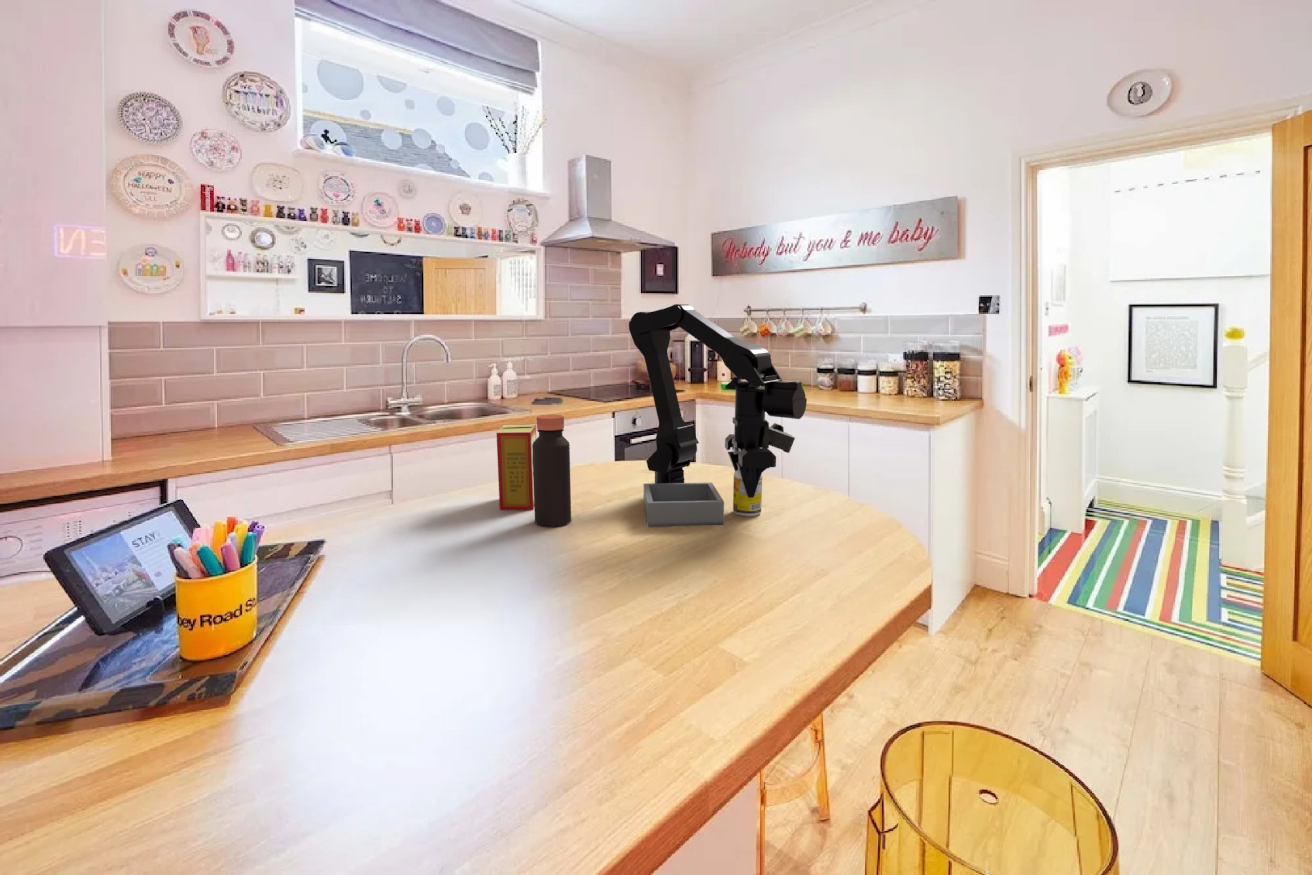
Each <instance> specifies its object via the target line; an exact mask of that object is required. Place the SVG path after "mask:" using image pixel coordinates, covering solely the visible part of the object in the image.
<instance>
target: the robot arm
mask: <svg viewBox="0 0 1312 875" xmlns="http://www.w3.org/2000/svg"><path fill="white" fill-rule="evenodd" d="M679 328H680V329H682V331H684V332H686V333H687V334H689V335H690V336H692V337H693V338H694V339H696V340H697V341H699V342H700V343H702V344H703V345H704V346H706V347H707V348H708V349H710V350H711V351H712V352H714V353H715V354H716V355H718V357H720V358H721V360H722V362H723V364H724V366H725V367H726V368H727V369H728V370H729V371H730V372H731V373H732V374H733V375H734V376H733V377H732V379H731V380H730V381H729V382H728V383H727V384H726V385H724V388H725V389H726V390H731V391H732V390H734V392H735V395H734V399H735V400H734V417H733V416H732V423H733V425H734V428H733V429H734V431H733V434H730V433H729V434H728V435H726V437H725V438H724V448H725V449H726V450H727V455H728V457H729V459H730V462H731V464H732V467H733V470H734V473H735V472H736V471H737V470H738V469H739V472H740V475H741V478H742V481H743V484H744V487H745V490H746V493H747V496H748V497H749V498H753V497H754V495H755V492H756V489H757V485H758V482H759V479H760V476H761V474H762V475H763V472H764V471H766V470H767V469H770V468H776V467H777V456H776V455H775V454H774V453H773V451H771V450H770V446H771V447H774V448H775V449H779V450H782V451H783V452H784V453H787V454H789V453H790V452H791V450H792V446H793V444H794V442H795V439H796V437H795V436H793V435H792V434H789V433H788V432H785V430H784V429H785V428H784V426H783V425H781V424H779V423H773V424H772V425H771V426H770V422H769V421H768V420H767V419H766V413H767V415H768V416H769V417H775V418H784V419H785V418H786V419H793V420H794V419H795V420H801V419H802V418H803V416H804V415H805V412H806V409H807V408H806V407H807V400H808V399H807V398H806V394H805V393H806V392H805V390H804V389H803V388H802V387H803V382H802V381H801V380H792V381H785V380H783V379H782V377H781V376H780V374H779V372H778V370H777V369H776V367H775V366H774V365H773V363H772V358H771V353H770V352H769V351H768V349H766V348H764V347H762V346H760V345H758V344H754V343H752V342H749V341H746V340H744V339H740V338H737V337H735V336H734V335H732V334H731V333H729V332H727V330H724V329H723V328H722V327H720V326H719V325H718V324H716V323H715V322H713V321H712V320H711V319H708V318H707V317H706V316H704V314H701V313H699V311H697V310H695V308H694V307H693V306H691V305H690V304H683V303H680V304H679V303H678V304H677V303H675V304H672V305H670V306H667V307H665V308H660V309H657V310H654V311H637V312H636V313H634V314H633V315H632V316H631V318H630V321H629V322H628V330H629V333H630V337H631V338H632V342H633V344H634V346H635V347H636V348H637V349H638V351H639V352H640V353H641V354H642V357H643V358H644V363H645V366H646V371H647V374H648V375H647V376H648V379H649V384H650V389H651V395H652V397H653V402H654V406H655V410H656V416H657V419H658V420H657V421H658V427H657V432H656V436H655V444H656V445H655V447H656V449H655V451H654V452H653V453H652V454H651V455H650V456H648V458H647V459H646V462H645V463H646V466H647V468H648V471H650V472H654V483H685V470H684V469H683V468H686V467H690V465H691V461H692V460H693V458H694V457H695V456H696V453H698V452H697V451H698V444H699V443H700V442H699V440H698V438H697V435H696V427H695V425H694V424H690V425H688V424H687V422H685V420H684V419H683V416H682V413H681V408H680V404H679V399H678V395H677V390H676V386H675V382H674V381H675V380H674V377H673V372H672V368H671V364H670V363H671V362H670V359H669V355H668V353H669V352H668V349H669V345H670V341H671V331H675V330H677V329H679ZM738 462H739V463H738Z"/></svg>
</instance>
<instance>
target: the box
mask: <svg viewBox="0 0 1312 875" xmlns="http://www.w3.org/2000/svg"><path fill="white" fill-rule="evenodd" d="M713 483H714V482H684V483H655V482H654V483H643V508H644V514H645V519H646V526H647V527H648V528H659V527H660V528H661V527H664V528H665V527H666V528H667V527H668V528H669V527H701V526H703V527H704V526H705V527H708V526H713V527H714V526H724V525H725V524H724V520H725V501H724V499H723V498H722V496H721V495H720V494H721V493H719V491H718V489H717V488H716V486H715V485H714V484H713Z"/></svg>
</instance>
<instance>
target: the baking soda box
mask: <svg viewBox="0 0 1312 875" xmlns="http://www.w3.org/2000/svg"><path fill="white" fill-rule="evenodd" d="M536 439H537V424H503V425H502V426H501V428H499V430H497V432H496V453H497V454H496V456H497V473H498V474H497V477H498V478H497V479H498V500H499V503H498V504H499V511H534V481H533V452H532V445H533V442H534V441H535V440H536Z"/></svg>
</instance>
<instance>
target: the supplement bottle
mask: <svg viewBox="0 0 1312 875" xmlns="http://www.w3.org/2000/svg"><path fill="white" fill-rule="evenodd" d="M738 463H739V462H738ZM732 488H733V497H732V498H733V500H732V501H733V502H732V510H733V513H735V514H736V515H737V516H741V517H756V516H759V515H760V514H761V513H762V507H763V505H762V504H763V503H762V502H763V473H762V474H761V476H760V479H759V482H758V485H757V489H756V492H755V495H754V497H753V498H749V497H748V496H747V493H746V490H745V487H744V484H743V481H742V478H741V475H740V472H739V469H738V470H737V471H736V472H735V471H734V473H733V487H732Z"/></svg>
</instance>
